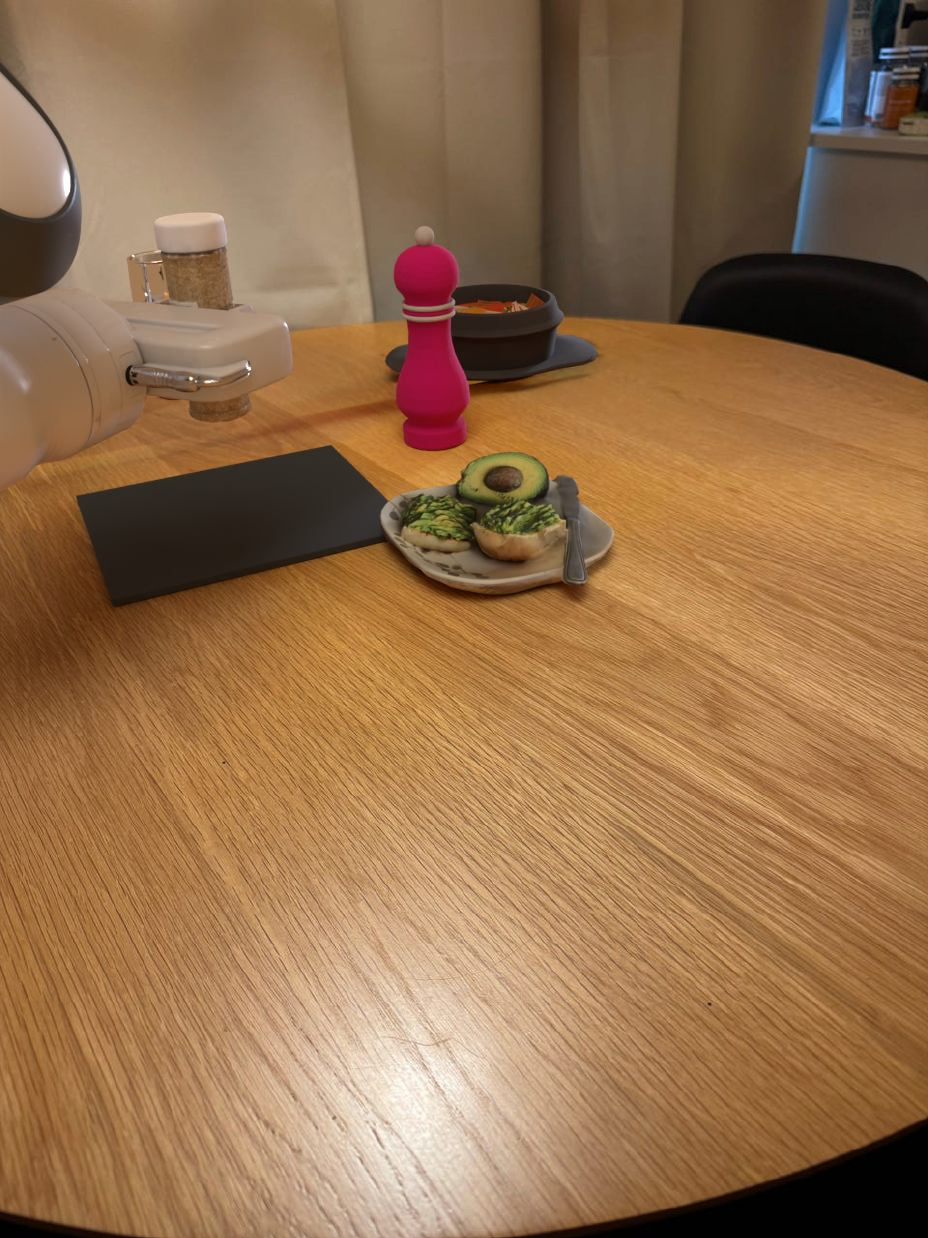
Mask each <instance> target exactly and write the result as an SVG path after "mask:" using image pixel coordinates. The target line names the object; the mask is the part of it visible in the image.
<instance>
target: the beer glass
mask: <svg viewBox="0 0 928 1238" xmlns="http://www.w3.org/2000/svg"><path fill="white" fill-rule="evenodd" d="M160 253H161V251H160V250H159V249H157V250H156V249H155V250H148V251H142V252H137V253H134V254H131V255H129V256H127V257H126V263H127V270H128V279H129V286H130V287H129V288H130V292H131V298H132V301H133V302H154V301H157V300H160V299H163V298H166V297H169V291H168V287H167V280H166V274H165V270H164V266H163V259H162V257H161V256H160ZM160 398H162V399H165V400H174V399H173V398H166V397H160Z"/></svg>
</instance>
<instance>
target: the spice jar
mask: <svg viewBox="0 0 928 1238" xmlns="http://www.w3.org/2000/svg"><path fill="white" fill-rule="evenodd" d="M153 230H154V237H155V242H156V247H157V250H160V251H161V253H160V256H161V257H162V259H163V266H164V270H165V274H166V280H167V287H168V291H169V303H170V305H175V306H185V307H196V308H206V309H216V310H220V308H222V307H225V306H229V305H230V304H236V302H235V298H234V294H233V288H232V281H231V276H230V269H229V262H228V256H227V251H228V249H227V247H226V246H228V233H227V227H226V223H225V219H224V217H223V216H222V215H221V214H219V213H217V212H215V213H214V212H184V213H183V212H182V213H175V214H168V215H164V216H161V217H158V218H156V219H155V220H154V222H153ZM188 402H189V407H188V413H189V415H190V417H191V418H193V419H194V420H196V421H200V422H203V423H212V424H213V423H226V422H231V421H235V420H237V419H239V418H242V417H244V416H246V415H248V414H249V412H250V411H251V410H252V408H253V404H252V401H251V399H250V395H249V393H248V394H246V395H243V396H240V397H237V398H234V399H230V400H226V401H220V402H195V401H188Z"/></svg>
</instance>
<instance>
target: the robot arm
mask: <svg viewBox="0 0 928 1238" xmlns="http://www.w3.org/2000/svg"><path fill="white" fill-rule="evenodd" d="M82 218H83V207H82V195H81V186H80V182H79V178H78V173H77V169H76V165H75V163H74V160H73V157H72V155H71V152H70V150H69V148H68V146H67V144H66V142H65V140H64V139H63V137H62V135H61V133H60V131H59V130H58V128H57V126H56V125H55V123H54V122H53V121H52V119H51V118H50V117H49V115H48V114H47V112H46V111H45V110H44V109H43V107H42V106H41V105H40V104H39V103H38V101H37V100H36V98H34V96H33V95H32V94H31V92H30V91H28V89H27V88H26V86H24V84H23V83H22V82H21V81H20V80H19V78H18V77H17V76H16V75H15V74H14V73H13V72H12V71H11V69H10V68H9V67H8V66H7V65H6V63H5V62H4V61H3V60H2V59H1V58H0V493H1V492H3V491H5V490H7V489H9V488H11V487H13V486H15V485H17V484H18V483H20V482H21V481H22V480H23V479H24V478H26V477H27V476H28V475H29V474H30V472H32V471H33V469H34V468H35V467H37V466H38V465H41V464H48V463H55V462H61V461H64V460H67V459H69V458H71V457H73V456H76V455H77V454H79V453H81V452H84V451H86V450H88V449H90V448H92V447H93V446H95V445H98V444H100V443H102V442H104V441H106V440H108V439H110V438H112V437H114V436H116V435H118V434H120V433H122V432H124V431H126V430H128V429H129V428H131V427H132V426H133V425H135V423H136V422H137V421H138V420H139V418H140V417H141V415H142V413H143V410H144V409H145V405H146V400H147V396H153V397H159V398H161V397H166V398H173V399H172V400H181V401H188V402H189V401H195V402H220V401H226V400H230V399H234V398H237V397H240V396H243V395H246V394H248V395H249V394H251V393H253V392H256V391H258V390H261V389H264V388H266V387H268V386H270V385H272V384H275V383H278V382H280V381H281V380H284V379H286V378H287V377H289V376H290V375H291V374H292V371H293V366H294V359H293V358H294V357H293V346H292V338H291V335H290V331H289V330H290V329H289V326H288V323H287V322H286V320H285V318H283V316H281V315H278V314H268V313H259V312H257V313H256V312H255V310H254V307H253V306H252V304H244V303H243V304H242V303H235V304H230V305H229V306H225V307H222V308H220V310H216V309H206V308H196V307H185V306H175V305H170V303H169V297H166V298H163V299H160V300H157V301H154V302H133V300H132V301H131V300H121V299H110V298H101V297H97V296H96V295H93V294H92V293H90V292H87V291H85V290H82V289H80V288H75V287H71V286H70V287H69V286H61V287H56V288H55V287H54V286H55V285H57V284H58V283H59V282H60V281H61V280H62V279H63V278H64V277H65V275H66V274H67V273H68V271H69V270H70V268H71V266H72V265H73V263H74V261H75V259H76V256H77V253H78V249H79V245H80V241H81V234H82V221H83V220H82ZM53 287H54V288H53Z"/></svg>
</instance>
